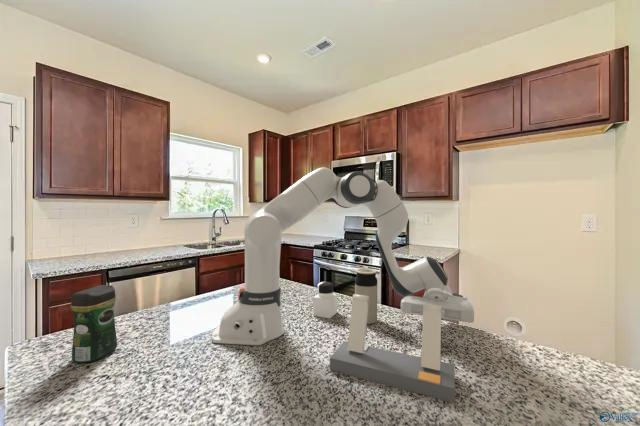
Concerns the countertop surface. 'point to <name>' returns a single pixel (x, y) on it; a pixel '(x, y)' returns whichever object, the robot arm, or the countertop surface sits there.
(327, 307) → the medicine bottle
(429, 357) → the outer lever
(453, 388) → the switch unit
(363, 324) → the inner lever
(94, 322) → the coffee jar
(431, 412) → the countertop surface
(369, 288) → the travel mug
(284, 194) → the robot arm
